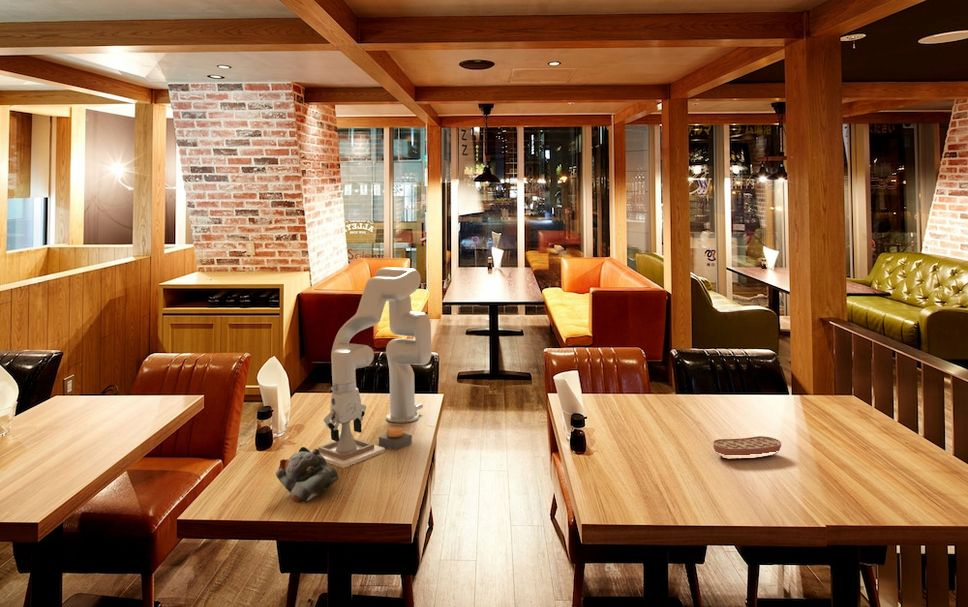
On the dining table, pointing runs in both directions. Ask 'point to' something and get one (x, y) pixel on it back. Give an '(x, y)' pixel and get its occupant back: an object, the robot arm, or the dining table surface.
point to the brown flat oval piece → (747, 445)
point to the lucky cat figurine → (306, 474)
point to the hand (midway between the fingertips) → (346, 436)
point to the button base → (395, 441)
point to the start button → (395, 432)
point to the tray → (352, 457)
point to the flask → (346, 440)
